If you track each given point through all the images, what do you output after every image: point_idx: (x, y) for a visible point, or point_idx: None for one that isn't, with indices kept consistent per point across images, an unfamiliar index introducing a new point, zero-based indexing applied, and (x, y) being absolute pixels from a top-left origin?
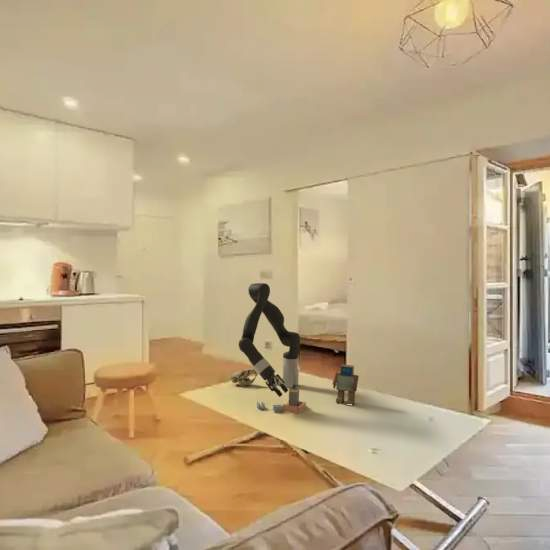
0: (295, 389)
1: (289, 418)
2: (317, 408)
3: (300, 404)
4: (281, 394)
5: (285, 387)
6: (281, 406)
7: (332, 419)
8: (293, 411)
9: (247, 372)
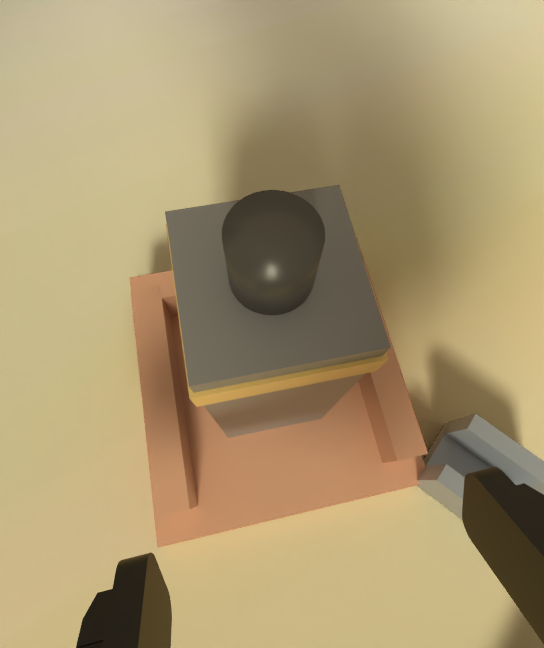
0: (343, 210)
1: (529, 269)
2: (110, 211)
3: (172, 341)
4: (499, 478)
5: (140, 645)
6: (487, 423)
7: (291, 39)
8: None
9: None
